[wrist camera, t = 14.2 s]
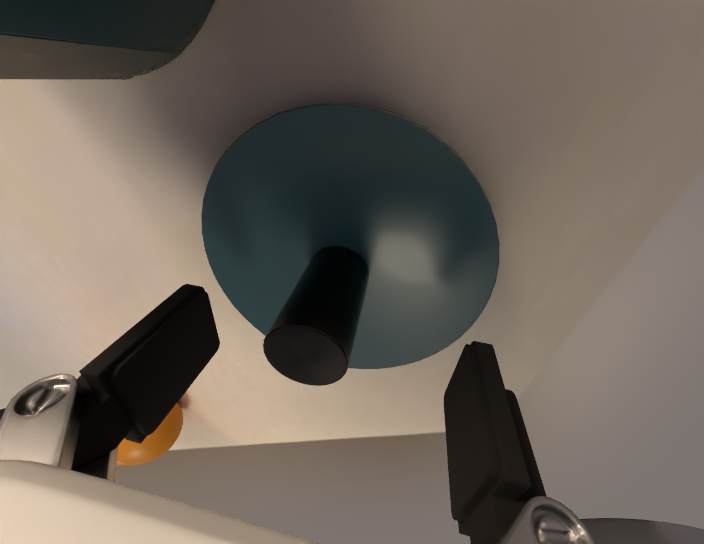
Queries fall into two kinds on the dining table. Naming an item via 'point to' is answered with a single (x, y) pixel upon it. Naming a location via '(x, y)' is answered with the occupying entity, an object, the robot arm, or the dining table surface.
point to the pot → (94, 36)
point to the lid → (349, 239)
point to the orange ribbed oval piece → (152, 441)
